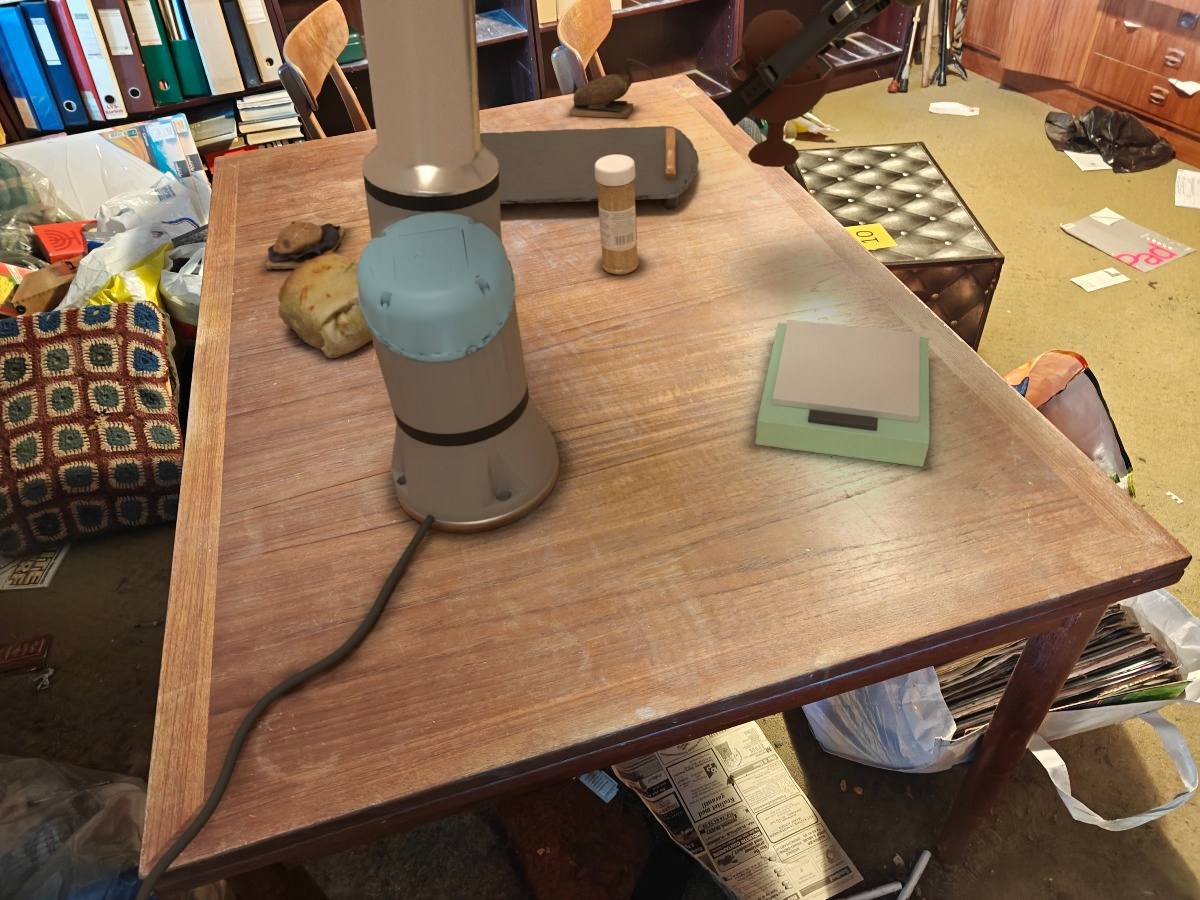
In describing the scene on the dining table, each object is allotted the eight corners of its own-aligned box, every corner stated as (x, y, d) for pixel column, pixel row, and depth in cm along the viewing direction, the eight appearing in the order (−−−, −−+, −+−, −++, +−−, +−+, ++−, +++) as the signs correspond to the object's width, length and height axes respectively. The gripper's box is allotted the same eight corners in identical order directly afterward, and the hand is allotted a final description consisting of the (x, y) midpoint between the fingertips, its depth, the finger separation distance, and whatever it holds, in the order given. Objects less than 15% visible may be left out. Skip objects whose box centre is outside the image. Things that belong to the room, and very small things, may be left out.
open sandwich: (322, 273, 109) (313, 247, 106) (260, 271, 110) (250, 245, 107) (351, 231, 116) (344, 206, 114) (293, 230, 117) (285, 205, 115)
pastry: (302, 294, 105) (282, 235, 99) (403, 289, 104) (388, 229, 99) (271, 364, 94) (246, 302, 89) (383, 358, 94) (365, 295, 89)
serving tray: (415, 223, 117) (406, 180, 112) (447, 151, 134) (440, 111, 129) (700, 214, 113) (701, 170, 109) (696, 142, 130) (696, 101, 126)
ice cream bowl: (825, 179, 89) (845, 25, 79) (718, 176, 91) (723, 25, 81) (825, 137, 96) (843, -9, 86) (726, 135, 98) (732, -8, 88)
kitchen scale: (922, 467, 77) (931, 435, 74) (755, 444, 80) (757, 413, 78) (922, 361, 88) (930, 330, 85) (775, 345, 91) (778, 315, 89)
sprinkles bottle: (637, 255, 107) (633, 151, 98) (639, 274, 103) (636, 168, 94) (600, 258, 107) (593, 154, 98) (602, 277, 104) (594, 171, 94)
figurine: (658, 109, 141) (657, 54, 135) (652, 120, 138) (651, 64, 132) (577, 105, 144) (573, 51, 138) (569, 116, 141) (565, 61, 135)
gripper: (904, 17, 67) (721, 166, 84) (994, -55, 81) (821, 87, 98) (849, -66, 66) (675, 103, 83) (949, -124, 79) (782, 31, 97)
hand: (754, 94), depth 91 cm, fingers closed on ice cream bowl, 11 cm apart
